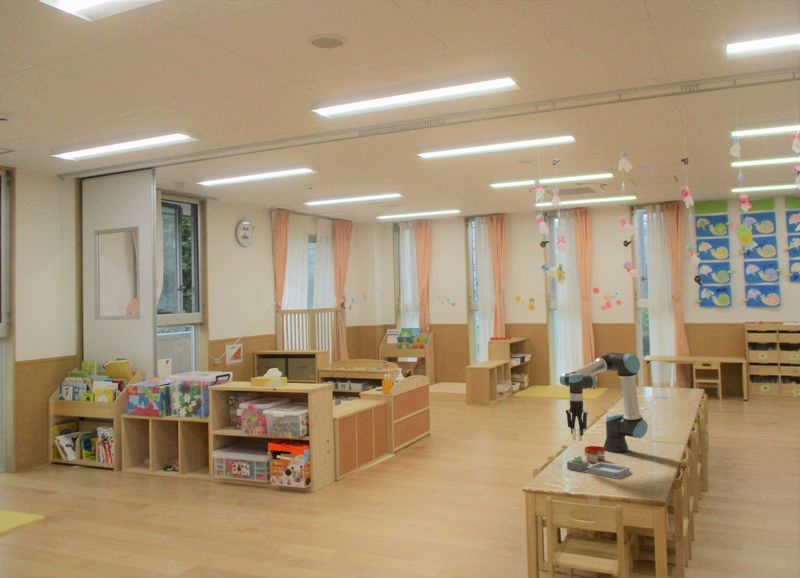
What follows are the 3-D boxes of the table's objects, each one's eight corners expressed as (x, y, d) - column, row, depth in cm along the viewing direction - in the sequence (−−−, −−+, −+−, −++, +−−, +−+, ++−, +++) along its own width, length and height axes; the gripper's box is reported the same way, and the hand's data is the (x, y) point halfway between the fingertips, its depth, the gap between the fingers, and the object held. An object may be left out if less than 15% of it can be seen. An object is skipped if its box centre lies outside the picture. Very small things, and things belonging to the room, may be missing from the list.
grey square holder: (575, 465, 375) (575, 459, 375) (589, 468, 368) (588, 461, 368) (567, 468, 369) (567, 461, 369) (581, 471, 362) (580, 464, 362)
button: (576, 463, 372) (576, 455, 372) (583, 464, 368) (582, 456, 369) (572, 464, 369) (572, 456, 369) (579, 465, 366) (579, 457, 366)
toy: (589, 457, 393) (589, 444, 393) (605, 460, 386) (605, 447, 386) (581, 462, 383) (581, 448, 383) (597, 464, 377) (597, 451, 377)
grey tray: (598, 466, 372) (598, 461, 372) (631, 473, 357) (631, 467, 357) (585, 472, 360) (584, 467, 360) (618, 479, 346) (617, 473, 346)
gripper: (560, 399, 372) (561, 439, 372) (585, 402, 361) (586, 443, 360) (567, 398, 378) (568, 437, 377) (592, 400, 366) (593, 441, 366)
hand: (577, 440), depth 369 cm, fingers open, 3 cm apart
